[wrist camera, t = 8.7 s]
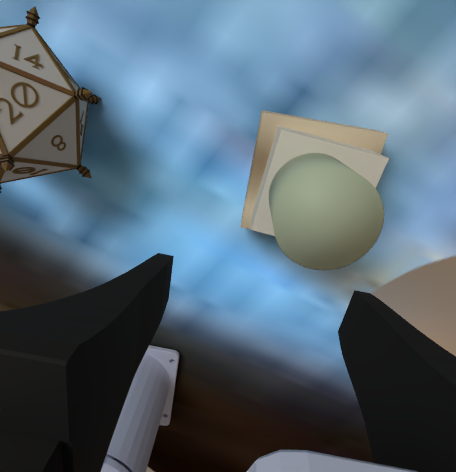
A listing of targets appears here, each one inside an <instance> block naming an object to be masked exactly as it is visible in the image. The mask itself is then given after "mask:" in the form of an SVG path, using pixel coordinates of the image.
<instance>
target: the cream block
mask: <svg viewBox="0 0 456 472" xmlns="http://www.w3.org/2000/svg"><path fill="white" fill-rule="evenodd" d="M307 153H322V154H327V155H330V156H332V157H334V158H336V159H338V160H339V161H341V162H342V163H343V164H345V165H346V166H348V167H349V168H351V169H352V170H353V171H355V172H356V173H358V174H359V175H361V176H362V177H364V178H365V179H366V180H368V181H369V182H370V183H371V184H372V185H373V186H374V187H375V188H376V186H377V184H378V182H379V180H380V177H381V175H382V173H383V171H384V169H385V166H386V164H387V162H388V160H389V158H387V157H385V156H383V155H381V154H378V153H376V152H374V151H372V150H368V149H364V148H361V147H357V146H353V145H350V144H346V143H342V142H339V141H335V140H331V139H327V138H324V137H320V136H316V135H313V134H309V133H305V132H301V131H298V130H294V129H290V128H287V127H283V126H279V125H278V127H277V130H276V133H275V137H274V140H273V143H272V147H271V150H270V154H269V157H268V160H267V164H266V167H265V170H264V174H263V177H262V181H261V184H260V187H259V191H258V194H257V197H256V201H255V204H254V208H253V211H252V214H251V230H253V231H257V232H261V233H265V234H269V235H272V236H275V233H274V228H273V223H272V217H271V211H270V206H269V189H270V185H271V182H272V180H273V178H274V176H275V174H276V173H277V171H278V170H279V169H280V168H281V167H282V166H283V165H284V164H285V163H286V162H288V161H289V160H291V159H293V158H295V157H297V156H300V155H303V154H307Z"/></svg>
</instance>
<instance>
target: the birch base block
mask: <svg viewBox="0 0 456 472" xmlns="http://www.w3.org/2000/svg"><path fill="white" fill-rule="evenodd" d="M278 125H279V126H283V127H287V128H290V129H294V130H298V131H301V132H305V133H309V134H313V135H316V136H320V137H324V138H327V139H331V140H335V141H339V142H342V143H346V144H350V145H353V146H357V147H361V148H364V149H368V150H372V151H374V152H376V153H378V154H381V152H382V149H383V147H384V144H385V141H386V138H387V135H388V134H387V133H384V132H380V131H377V130H372V129H366V128H361V127H355V126H349V125H343V124H338V123H332V122H326V121H320V120H315V119H309V118H303V117H297V116H292V115H286V114H280V113H274V112H269V111H263V110H262V112H261V118H260V123H259V128H258V134H257V139H256V144H255V150H254V155H253V160H252V166H251V171H250V176H249V181H248V187H247V192H246V197H245V203H244V208H243V213H242V220H241V227H242V228H247V229H251V214H252V211H253V208H254V204H255V201H256V197H257V194H258V191H259V187H260V184H261V181H262V177H263V174H264V170H265V167H266V164H267V160H268V157H269V154H270V150H271V147H272V143H273V140H274V137H275V133H276V130H277V127H278Z"/></svg>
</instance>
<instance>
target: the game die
mask: <svg viewBox="0 0 456 472" xmlns="http://www.w3.org/2000/svg"><path fill="white" fill-rule="evenodd" d="M27 13H28V14H27V16H26V18H27V24H25V25H16V26H6V27H0V184H1V183H5V182H10V181H16V180H21V179H26V178H31V177H36V176H41V175H46V174H52V173H57V172H62V171H67V170H72V169H77V170H78V171H79V174H82V175H83V176H84V177H88V178H91V175H90V171H89V170H88V169H87V168H86V167H84V166H82V165H81V158H82V150H83V142H84V134H85V127H86V119H87V111H88V103H91V104H94V103H95V104H97V103H98V101H99V100H100V99H101V98H99V97H97V96H96V95H94V94H93V95H91V94H92V92H90V91H88V90H87V89H85V88H83V87H82V89H80V87H79V86H78V85H77V83H76V82H75V81H74V79H73V78H72V77H71V75H70V74H69V73H68V71H67V70H66V69H65V67H64V66H63V65H62V63H61V62H60V61H59V59H58V58H57V57H56V55H55V54H54V53H53V52H52V50H51V49H50V48H49V46H48V45H47V44H46V42H45V41H44V40H43V38H42V37H41V36H40V34H39V33H38V32H37V30H36V29H35V26H36V25H37V24H39V22H38V19H40V17H39V16H38V13H37V10H36V7H33V8H32V9H31V10H29V11H27ZM83 176H82V177H83ZM1 189H2V188H1V186H0V190H1ZM0 193H1V191H0Z"/></svg>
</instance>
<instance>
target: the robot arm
mask: <svg viewBox="0 0 456 472" xmlns="http://www.w3.org/2000/svg"><path fill="white" fill-rule="evenodd" d="M172 265H173V256H170V255H165V254H160V253H158V254H156V255H154V256H153V257H151V258H149V259H148V260H146V261H145V262H143V263H141V264H140V265H138V266H136V267H135V268H133V269H131V270H130V271H128V272H126V273H124V274H122V275H120V276H118V277H116V278H114V279H112V280H111V281H109V282H106V283H104V284H102V285H100V286H97V287H95V288H92V289H90V290H87V291H85V292H82V293H79V294H76V295H72V296H69V297H66V298H63V299H59V300H56V301H52V302H48V303H44V304H40V305H35V306H31V307H26V308H20V309H15V310H8V311H1V312H0V472H146V469H147V465H148V462H149V459H150V455H151V452H152V448H153V445H154V441H155V438H156V434H157V431H158V427H159V425H163V426H167V425H169V423H170V418H171V411H172V404H173V397H174V390H175V383H176V376H177V369H178V362H179V352H177V351H176V350H172V349H166V348H161V347H156V346H150V343H151V341H152V339H153V337H154V335H155V332H156V330H157V328H158V326H159V324H160V322H161V320H162V317H163V314H164V311H165V308H166V305H167V302H168V298H169V290H170V281H171V273H172ZM338 333H339V340H340V345H341V350H342V355H343V358H344V361H345V364H346V367H347V370H348V373H349V376H350V379H351V382H352V385H353V388H354V390H355V393H356V396H357V399H358V402H359V405H360V408H361V411H362V414H363V418H364V421H365V425H366V429H367V433H368V438H369V442H370V446H371V451H372V456H373V461H374V463H370V462H365V461H360V460H354V459H349V458H344V457H338V456H333V455H328V454H322V453H317V452H312V451H306V450H279V451H276V452H273V453H270V454H268V455H265V456H262V457H260V458H258V459H257V460H256V461H255V462H254V464H253V465H252V466H251V467H250V468H249V470H248V471H247V472H456V356H454V355H452V354H451V353H449V352H448V351H446V350H445V349H443V348H442V347H441V346H439V345H438V344H436V343H435V342H434V341H432V340H431V339H429V338H428V337H427V336H425V335H424V334H423V333H421V332H420V331H419V330H417V329H416V328H415V327H414V326H412V325H411V324H410V323H408V322H407V321H406V320H405V319H403V318H402V317H401V316H400V315H398V314H397V313H396V312H395V311H393V310H392V309H391V308H390V307H388V306H387V305H386V304H384V303H383V302H382V301H381V300H379V299H378V298H376V297H375V296H373V295H372V294H370V293H365V292H360V291H354V293H353V296H352V298H351V301H350V303H349V306H348V308H347V311H346V313H345V316H344V318H343V321H342V323H341V325H340V328H339V330H338ZM171 359H173V360H171Z"/></svg>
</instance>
